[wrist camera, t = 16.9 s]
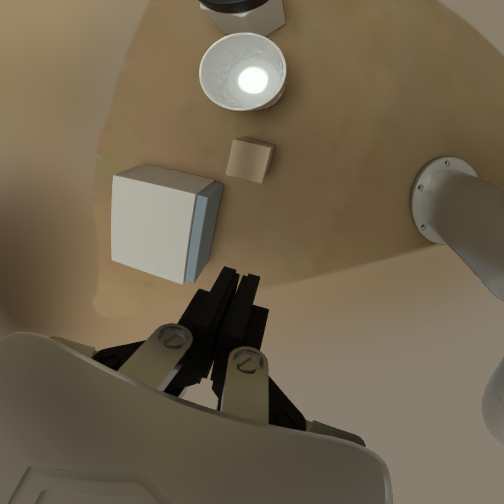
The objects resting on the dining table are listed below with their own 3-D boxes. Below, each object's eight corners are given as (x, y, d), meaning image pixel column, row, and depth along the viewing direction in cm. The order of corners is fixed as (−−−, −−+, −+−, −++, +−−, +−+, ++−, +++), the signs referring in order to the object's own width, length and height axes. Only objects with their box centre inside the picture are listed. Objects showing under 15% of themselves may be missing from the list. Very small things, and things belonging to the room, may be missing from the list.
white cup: (297, 104, 30) (297, 96, 21) (236, 122, 32) (213, 122, 23) (278, 49, 27) (269, 22, 18) (217, 68, 29) (188, 50, 20)
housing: (215, 180, 36) (195, 194, 29) (201, 257, 41) (182, 284, 35) (143, 164, 36) (113, 175, 29) (137, 238, 42) (111, 259, 35)
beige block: (275, 144, 32) (270, 148, 27) (267, 174, 34) (261, 184, 29) (244, 136, 33) (233, 139, 27) (237, 166, 34) (225, 174, 29)
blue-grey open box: (223, 184, 35) (207, 197, 30) (208, 260, 41) (193, 284, 35) (149, 167, 36) (123, 177, 30) (142, 240, 41) (120, 259, 35)
